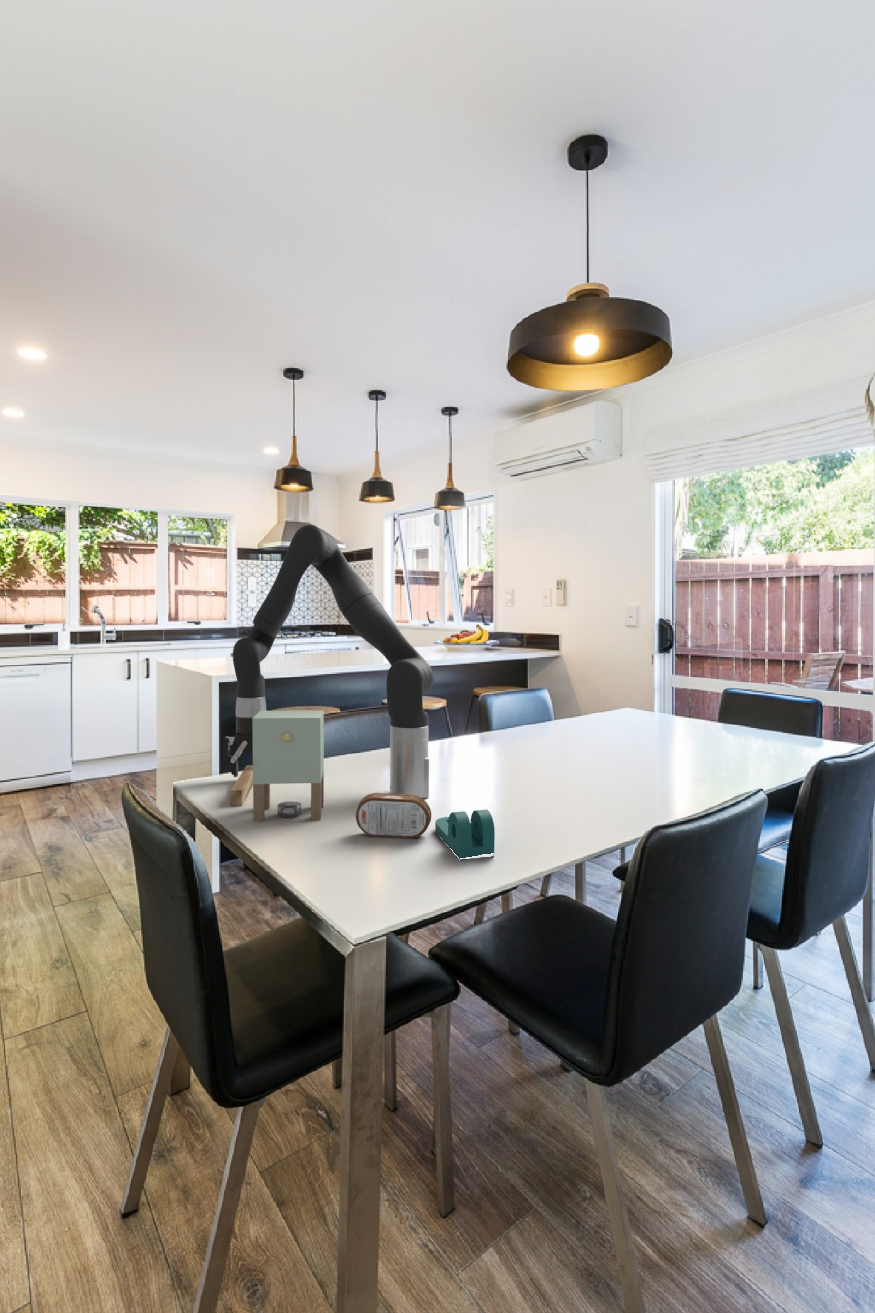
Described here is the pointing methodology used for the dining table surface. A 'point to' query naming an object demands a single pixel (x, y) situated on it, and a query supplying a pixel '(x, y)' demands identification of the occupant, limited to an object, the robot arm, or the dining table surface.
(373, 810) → the tin
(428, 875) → the dining table surface
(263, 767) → the cabinet
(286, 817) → the steel token
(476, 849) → the bracket
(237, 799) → the oak slat
